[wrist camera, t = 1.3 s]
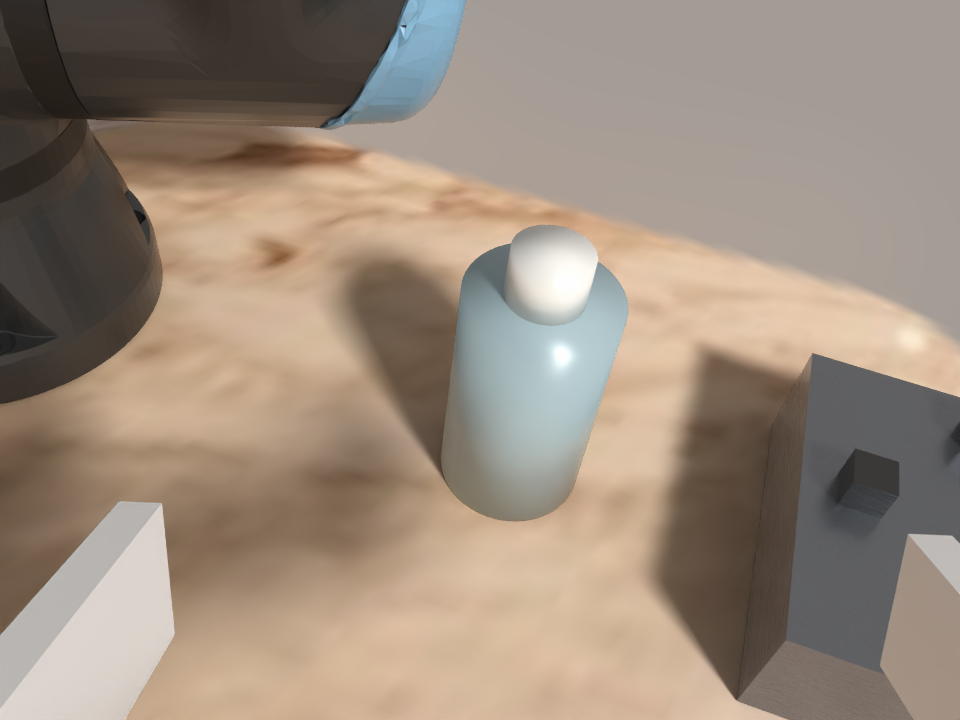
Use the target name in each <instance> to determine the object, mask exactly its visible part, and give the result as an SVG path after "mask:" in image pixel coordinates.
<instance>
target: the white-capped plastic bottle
mask: <svg viewBox="0 0 960 720" xmlns="http://www.w3.org/2000/svg"><path fill="white" fill-rule="evenodd" d="M627 316H628V302H627V297H626V294H625V292H624V290H623V288H622V286H621V284H620V283H619V281H618V280H617V279H616V277H615V276H614V275H613V274H612V273H611V272H610V271H609V270H608V269H607V268H606V267H605V266H603V265H602V264H601V263H599V262H598V254H597V251H596V249H595V247H594V246H593V244H592V243H591V242H590V241H589V240H588V239H587V238H585V237H584V236H583V235H581V234H579V233H578V232H576V231H573V230H571V229H568V228H565V227H561V226H556V225H537V226H532V227H529V228H526V229H524V230H522V231H521V232H519V233H518V234H517V235H516V236H515V237H514V239H513V240H512V243H511V244H506V245H503V246H499V247H496V248H494V249H492V250H489V251H488V252H486V253H484V254H482V255H481V256H480V257H478V258H477V259H476V260H475V261H474V262H473V263H472V264H471V265H470V266H469V268H468V269H467V271H466V272H465V275H464V277H463V280H462V284H461V292H460V300H459V308H458V317H457V325H456V334H455V342H454V350H453V359H452V367H451V376H450V384H449V392H448V401H447V409H446V417H445V426H444V434H443V443H442V451H441V468H442V472H443V476H444V478H445V480H446V483H447V485H448V486H449V488H450V489H451V491H452V492H453V493H454V494H455V496H456V497H457V498H458V499H459V500H460V501H462V502H463V503H464V504H465V505H467V506H468V507H469V508H471V509H473V510H474V511H476V512H478V513H480V514H483V515H485V516H487V517H491V518H494V519H499V520H505V521H526V520H532V519H536V518H539V517H542V516H544V515H546V514H549V513H550V512H552V511H554V510H555V509H557V508H558V507H559V506H560V505H561V504H563V502H564V501H565V500H566V499H567V498H568V496H569V495H570V493H571V491H572V489H573V487H574V484H575V481H576V478H577V475H578V472H579V468H580V465H581V462H582V459H583V456H584V453H585V450H586V447H587V443H588V440H589V437H590V434H591V431H592V428H593V425H594V421H595V418H596V415H597V412H598V409H599V406H600V403H601V399H602V396H603V393H604V390H605V387H606V384H607V381H608V377H609V374H610V371H611V368H612V365H613V362H614V359H615V355H616V352H617V349H618V346H619V343H620V340H621V337H622V334H623V330H624V327H625V324H626V321H627Z"/></svg>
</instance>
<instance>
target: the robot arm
mask: <svg viewBox="0 0 960 720" xmlns="http://www.w3.org/2000/svg"><path fill="white" fill-rule="evenodd" d="M465 3H466V0H0V404H2V403H7V402H12V401H16V400H19V399H23V398H27V397H30V396H34V395H37V394H40V393H43V392H45V391H48V390H51V389H54V388H56V387H58V386H61V385H63V384H66V383H68V382H70V381H72V380H74V379H76V378H78V377H80V376H82V375H84V374H85V373H87V372H89V371H91V370H92V369H94V368H96V367H97V366H99V365H101V364H102V363H103V362H105V361H106V360H108V359H109V358H111V357H112V356H113V355H114V354H116V353H117V352H118V351H119V350H121V349H122V348H123V347H124V346H125V345H126V344H127V343H128V342H129V341H130V340H131V339H132V338H133V337H134V336H135V335H136V334H137V333H138V332H139V330H140V329H141V328H142V327H143V325H144V324H145V323H146V321H147V320H148V318H149V317H150V315H151V313H152V312H153V310H154V307H155V305H156V303H157V301H158V298H159V295H160V291H161V286H162V264H161V259H160V255H159V250H158V246H157V241H156V237H155V232H154V229H153V226H152V224H151V221H150V219H149V217H148V215H147V213H146V211H145V209H144V208H143V206H142V205H141V203H140V202H139V201H138V199H137V198H136V197H135V196H134V194H133V193H132V192H131V191H130V190H129V189H128V187H127V185H126V183H125V181H124V180H123V178H122V176H121V175H120V173H119V171H118V170H117V168H116V167H115V165H114V164H113V162H112V161H111V159H110V158H109V156H108V155H107V154H106V152H105V151H104V149H103V148H102V146H101V145H100V143H99V142H98V141H97V139H96V138H95V136H94V135H93V133H92V132H91V130H90V128H89V125H88V122H87V119H96V120H120V121H148V122H176V123H204V124H232V125H261V126H289V127H315V128H321V129H326V130H331V129H336V128H339V127H342V126H344V125H350V124H372V123H393V122H398V121H403V120H406V119H408V118H410V117H412V116H414V115H416V114H417V113H418V112H419V111H421V110H422V109H423V108H424V107H425V106H426V105H427V104H428V103H429V102H430V101H431V100H432V98H433V97H434V95H435V94H436V92H437V90H438V89H439V87H440V85H441V83H442V81H443V79H444V77H445V74H446V72H447V69H448V67H449V64H450V61H451V58H452V55H453V52H454V48H455V45H456V41H457V38H458V34H459V30H460V25H461V22H462V17H463V13H464V8H465ZM174 635H175V630H174V620H173V610H172V599H171V589H170V579H169V569H168V559H167V549H166V538H165V528H164V518H163V508H162V503H151V502H126V501H119V502H118V503H117V504H116V505H115V507H114V508H113V509H112V510H111V511H110V512H109V513H108V514H107V516H106V517H105V518H104V519H103V520H102V521H101V522H100V523H99V525H98V526H97V527H96V528H95V529H94V530H93V531H92V532H91V534H90V535H89V536H88V537H87V538H86V539H85V540H84V541H83V543H82V544H81V545H80V546H79V547H78V548H77V549H76V550H75V552H74V553H73V554H72V555H71V556H70V557H69V558H68V559H67V561H66V562H65V563H64V564H63V565H62V566H61V567H60V568H59V570H58V571H57V572H56V573H55V574H54V575H53V576H52V577H51V579H50V580H49V581H48V582H47V583H46V584H45V585H44V587H43V588H42V589H41V590H40V591H39V592H38V593H37V594H36V596H35V597H34V598H33V599H32V600H31V601H30V602H29V603H28V605H27V606H26V607H25V608H24V609H23V610H22V611H21V612H20V614H19V615H18V616H17V617H16V618H15V619H14V620H13V621H12V623H11V624H10V625H9V626H8V627H7V628H6V629H5V630H4V632H3V633H2V634H1V635H0V720H125V719H126V717H127V716H128V714H129V712H130V710H131V709H132V707H133V705H134V704H135V702H136V700H137V698H138V697H139V695H140V693H141V692H142V690H143V688H144V686H145V685H146V683H147V681H148V680H149V678H150V676H151V674H152V673H153V671H154V669H155V668H156V666H157V664H158V662H159V661H160V659H161V657H162V656H163V654H164V652H165V650H166V649H167V647H168V645H169V644H170V642H171V640H172V638H173V637H174ZM880 666H881V668H882V670H883V671H884V673H885V675H886V676H887V678H888V679H889V681H890V683H891V684H892V686H893V687H894V689H895V691H896V692H897V694H898V696H899V697H900V699H901V700H902V702H903V704H904V705H905V707H906V708H907V710H908V712H909V713H910V715H911V716H912V718H913V720H960V543H959V542H958V541H957V540H956V539H955V538H954V537H953V536H948V535H924V534H908V536H907V541H906V545H905V550H904V555H903V559H902V564H901V569H900V573H899V578H898V583H897V587H896V592H895V597H894V601H893V606H892V611H891V615H890V620H889V625H888V629H887V634H886V639H885V643H884V648H883V653H882V657H881V662H880Z"/></svg>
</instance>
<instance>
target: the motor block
mask: <svg viewBox="0 0 960 720" xmlns="http://www.w3.org/2000/svg"><path fill="white" fill-rule="evenodd" d="M908 534H924V535H948V536H953V537H954V538H955V539H956V540H957V541H958V542H959V543H960V397H957V396H953V395H950V394H947V393H943V392H940V391H937V390H933V389H930V388H927V387H923V386H920V385H917V384H913V383H910V382H907V381H903V380H900V379H897V378H893V377H890V376H887V375H883V374H880V373H877V372H873V371H870V370H867V369H863V368H860V367H857V366H853V365H850V364H847V363H843V362H840V361H837V360H833V359H830V358H827V357H823V356H820V355H817V354H813V353H812V355H811V357H810V358H809V360H808V362H807V364H806V366H805V367H804V369H803V371H802V373H801V375H800V376H799V378H798V380H797V382H796V384H795V385H794V387H793V389H792V391H791V393H790V394H789V396H788V398H787V400H786V401H785V403H784V405H783V407H782V409H781V410H780V412H779V414H778V416H777V418H776V419H775V421H774V423H773V425H772V431H771V439H770V446H769V454H768V462H767V470H766V478H765V485H764V493H763V501H762V509H761V517H760V524H759V532H758V540H757V548H756V556H755V563H754V571H753V579H752V587H751V595H750V602H749V610H748V618H747V626H746V634H745V641H744V649H743V657H742V665H741V673H740V680H739V688H738V696H737V701H740V702H742V703H745V704H748V705H751V706H753V707H756V708H759V709H762V710H764V711H767V712H770V713H773V714H775V715H778V716H781V717H784V718H786V719H789V720H913V718H912V716H911V715H910V713H909V712H908V710H907V708H906V707H905V705H904V704H903V702H902V700H901V699H900V697H899V696H898V694H897V692H896V691H895V689H894V687H893V686H892V684H891V683H890V681H889V679H888V678H887V676H886V675H885V673H884V671H883V670H882V668H881V666H880V662H881V657H882V653H883V648H884V643H885V639H886V634H887V629H888V625H889V620H890V615H891V611H892V606H893V601H894V597H895V592H896V587H897V583H898V578H899V573H900V569H901V564H902V559H903V555H904V550H905V545H906V541H907V536H908Z"/></svg>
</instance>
